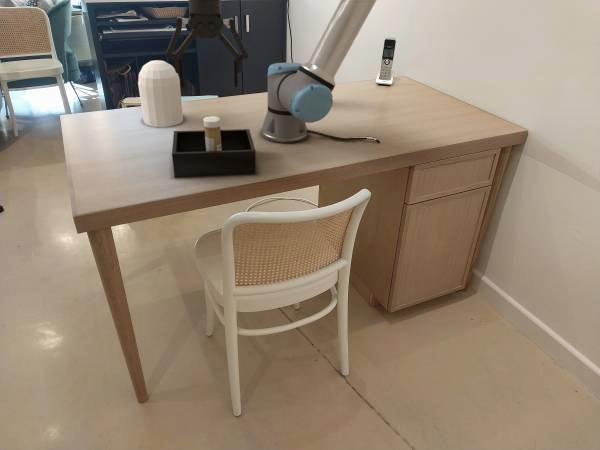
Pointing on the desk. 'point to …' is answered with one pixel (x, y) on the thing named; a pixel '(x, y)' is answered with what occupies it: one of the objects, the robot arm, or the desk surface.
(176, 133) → the black open box
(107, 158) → the desk surface
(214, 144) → the sprinkles bottle
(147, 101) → the container
